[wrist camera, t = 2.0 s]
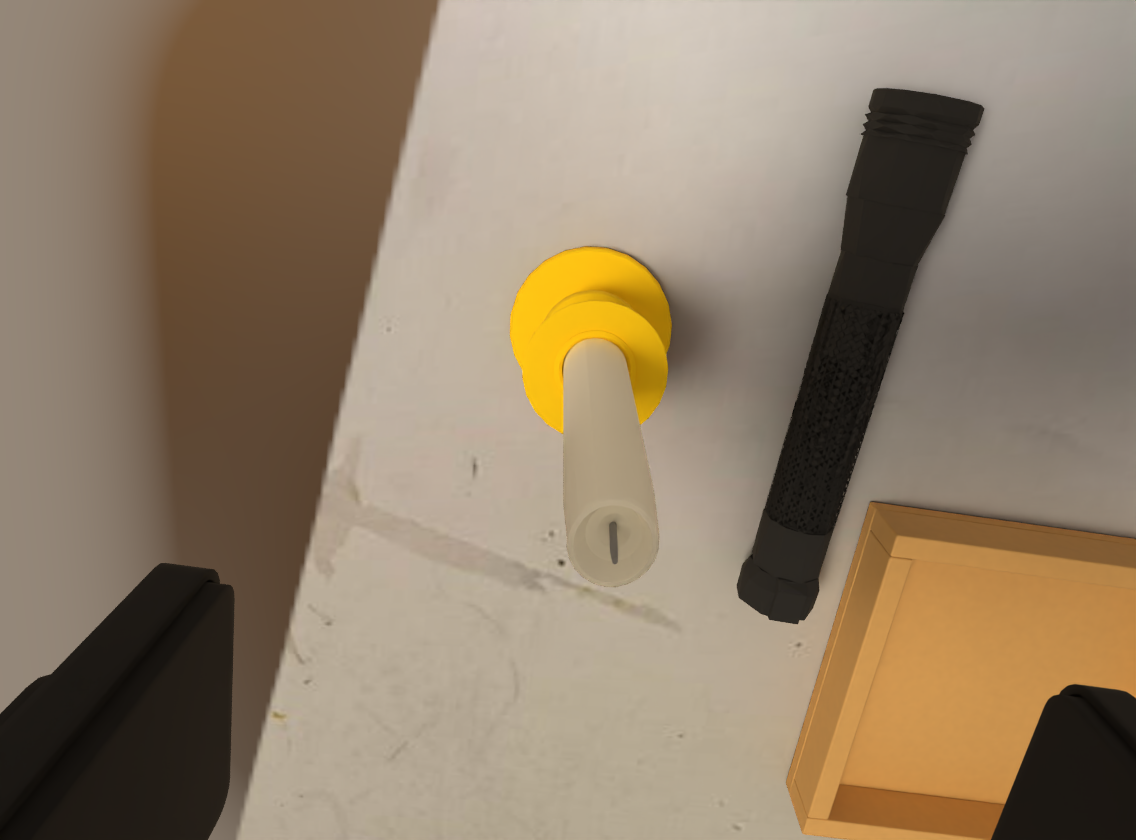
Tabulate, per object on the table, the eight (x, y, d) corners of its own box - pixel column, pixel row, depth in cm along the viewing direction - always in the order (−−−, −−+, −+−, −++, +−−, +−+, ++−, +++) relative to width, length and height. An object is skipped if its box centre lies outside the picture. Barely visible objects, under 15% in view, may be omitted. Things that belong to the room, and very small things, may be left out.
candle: (553, 217, 26) (531, 335, 11) (699, 290, 27) (857, 491, 12) (484, 361, 27) (387, 632, 13) (624, 427, 28) (683, 753, 14)
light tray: (869, 500, 29) (897, 535, 27) (1210, 548, 30) (1267, 586, 27) (785, 782, 33) (802, 834, 31) (1085, 819, 34) (1125, 874, 31)
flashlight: (955, 109, 25) (1005, 107, 22) (804, 583, 30) (828, 631, 27) (859, 90, 25) (896, 85, 22) (723, 570, 30) (739, 616, 27)
